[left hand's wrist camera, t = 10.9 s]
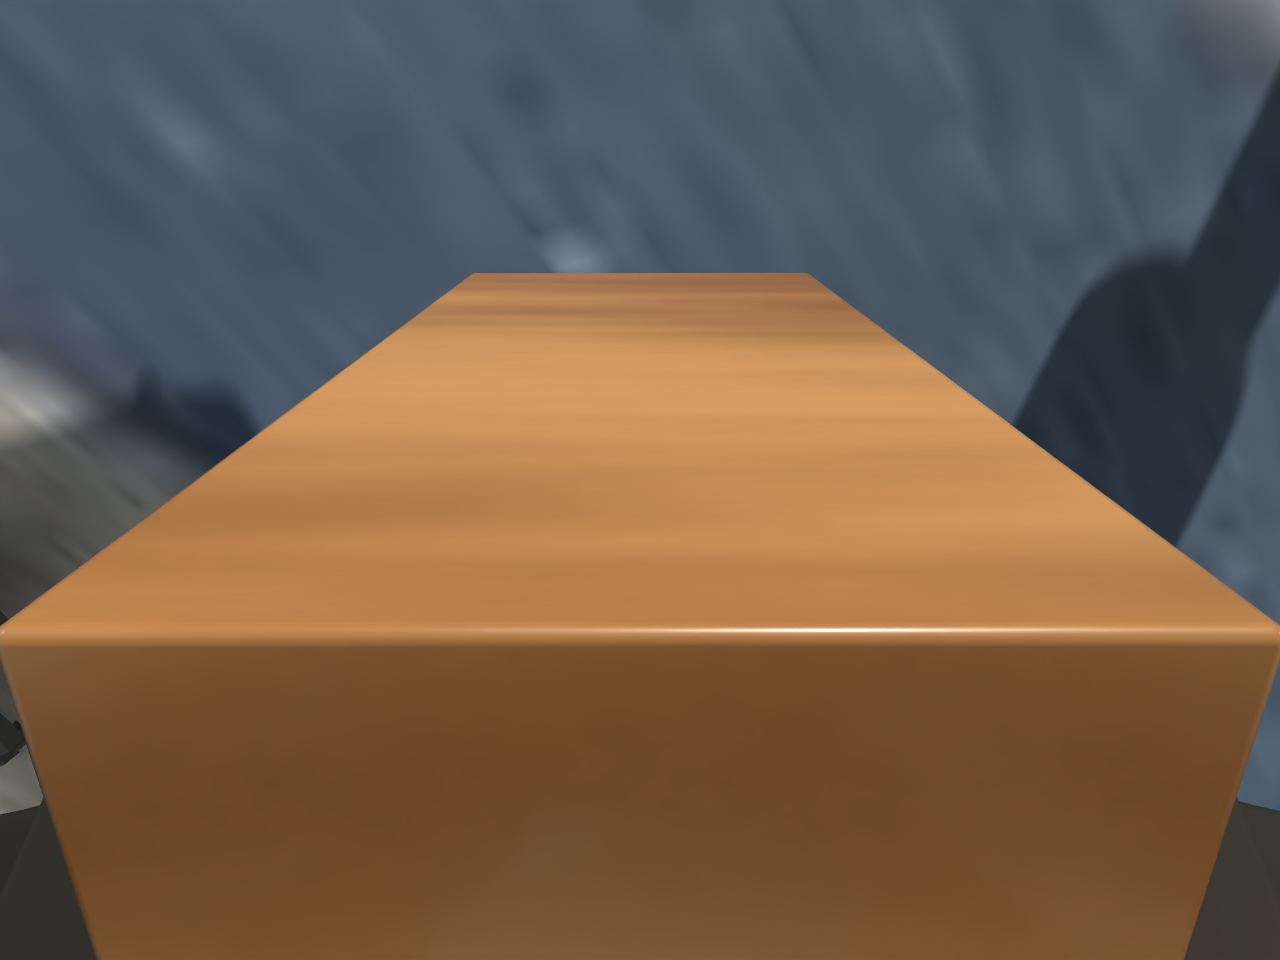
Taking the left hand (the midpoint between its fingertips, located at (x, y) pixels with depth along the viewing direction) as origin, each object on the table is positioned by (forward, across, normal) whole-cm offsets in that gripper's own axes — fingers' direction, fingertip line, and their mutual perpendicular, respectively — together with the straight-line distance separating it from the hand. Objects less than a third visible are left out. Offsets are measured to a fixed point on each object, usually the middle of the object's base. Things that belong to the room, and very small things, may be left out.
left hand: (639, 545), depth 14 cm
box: (+3, 0, -10) cm, 10 cm away
